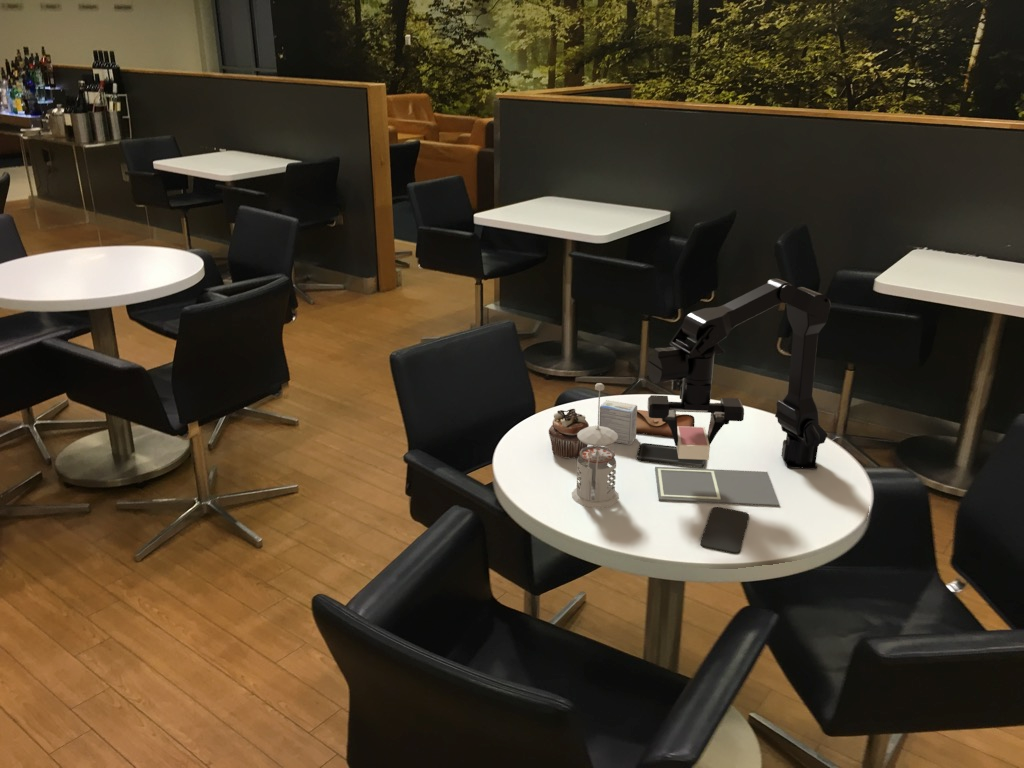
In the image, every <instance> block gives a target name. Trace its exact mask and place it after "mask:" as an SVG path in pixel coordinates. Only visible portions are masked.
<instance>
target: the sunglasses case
mask: <svg viewBox="0 0 1024 768" xmlns="http://www.w3.org/2000/svg"><path fill="white" fill-rule="evenodd" d="M676 418H677V426H683V427H695V417H694V416H693V415H692V414H686V413H685V414H683V413H682V414H677V413H676ZM636 435H648V436H655V437H656V436H657V437H665V438H673V435H672V432H671V429H670V427H669V425H668V423H667V422H663V421H662V418H650V417H649V415H648V410H643V409H642V410H641V409H637V424H636Z"/></svg>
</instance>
